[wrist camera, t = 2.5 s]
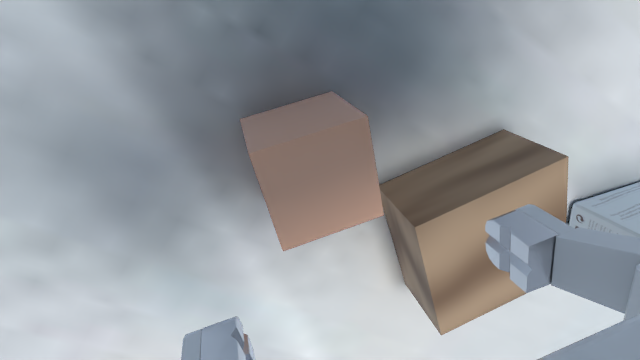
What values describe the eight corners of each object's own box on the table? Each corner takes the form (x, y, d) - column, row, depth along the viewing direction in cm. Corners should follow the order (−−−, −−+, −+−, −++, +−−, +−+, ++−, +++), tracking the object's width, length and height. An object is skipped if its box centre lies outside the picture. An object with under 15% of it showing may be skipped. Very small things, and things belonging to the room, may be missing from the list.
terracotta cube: (239, 118, 18) (248, 153, 14) (331, 90, 19) (367, 116, 14) (267, 199, 21) (283, 251, 16) (348, 172, 21) (384, 215, 17)
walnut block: (375, 184, 22) (414, 227, 18) (501, 128, 23) (568, 156, 19) (403, 281, 27) (441, 335, 22) (508, 232, 27) (564, 274, 23)
